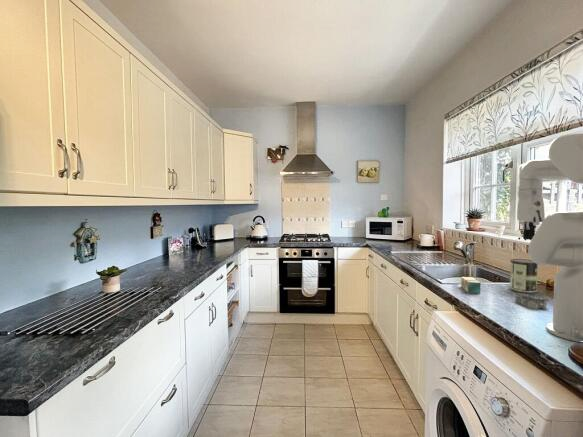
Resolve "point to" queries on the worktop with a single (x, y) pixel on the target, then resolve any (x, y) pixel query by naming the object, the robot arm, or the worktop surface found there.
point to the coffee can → (523, 275)
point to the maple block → (470, 284)
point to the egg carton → (534, 302)
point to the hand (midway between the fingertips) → (529, 239)
